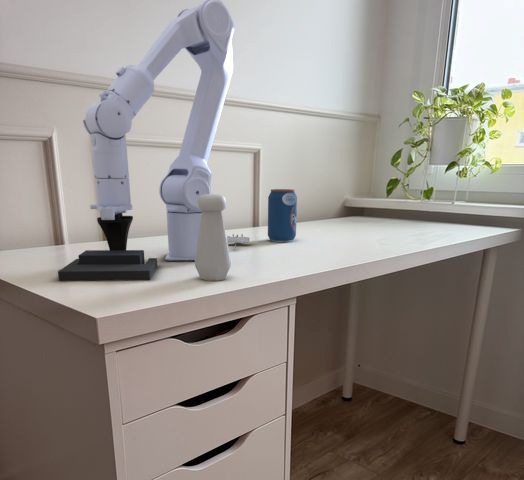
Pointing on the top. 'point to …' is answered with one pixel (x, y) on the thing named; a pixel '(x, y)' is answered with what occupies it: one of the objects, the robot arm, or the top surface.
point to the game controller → (238, 239)
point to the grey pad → (111, 257)
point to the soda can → (282, 215)
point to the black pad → (107, 271)
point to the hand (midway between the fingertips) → (118, 257)
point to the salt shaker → (212, 239)
